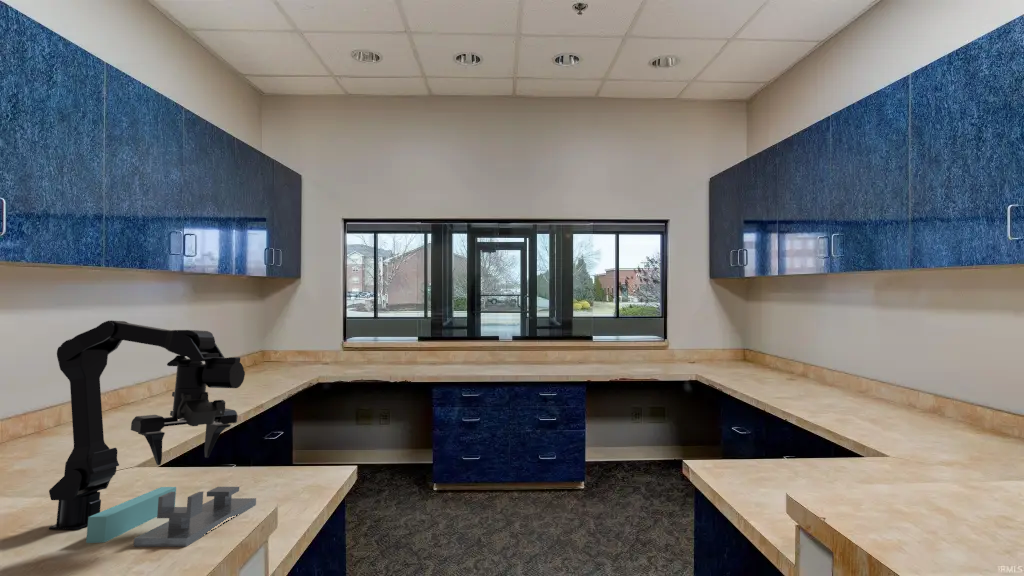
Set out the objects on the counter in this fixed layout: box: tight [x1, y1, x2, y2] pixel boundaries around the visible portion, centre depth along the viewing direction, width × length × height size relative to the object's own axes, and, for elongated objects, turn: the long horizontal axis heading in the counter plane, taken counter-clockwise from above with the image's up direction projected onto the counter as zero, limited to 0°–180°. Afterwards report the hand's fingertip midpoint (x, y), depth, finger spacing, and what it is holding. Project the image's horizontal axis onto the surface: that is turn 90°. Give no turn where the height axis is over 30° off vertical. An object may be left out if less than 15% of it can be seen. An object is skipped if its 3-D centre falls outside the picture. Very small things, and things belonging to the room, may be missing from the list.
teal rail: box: [85, 486, 177, 544], centre depth 103 cm, size 4×20×5 cm, turn 1°
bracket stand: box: [133, 486, 257, 548], centre depth 103 cm, size 10×24×8 cm, turn 179°
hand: (183, 460), depth 104 cm, fingers open, 9 cm apart
